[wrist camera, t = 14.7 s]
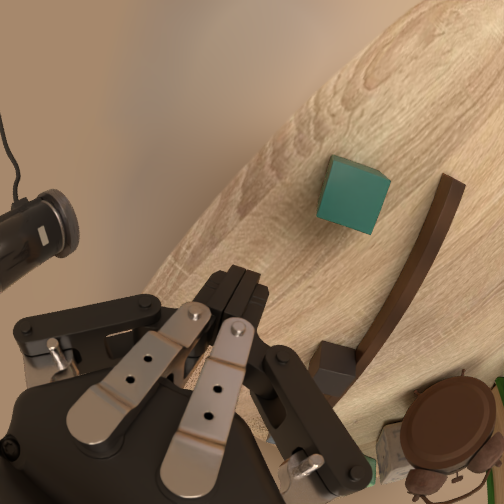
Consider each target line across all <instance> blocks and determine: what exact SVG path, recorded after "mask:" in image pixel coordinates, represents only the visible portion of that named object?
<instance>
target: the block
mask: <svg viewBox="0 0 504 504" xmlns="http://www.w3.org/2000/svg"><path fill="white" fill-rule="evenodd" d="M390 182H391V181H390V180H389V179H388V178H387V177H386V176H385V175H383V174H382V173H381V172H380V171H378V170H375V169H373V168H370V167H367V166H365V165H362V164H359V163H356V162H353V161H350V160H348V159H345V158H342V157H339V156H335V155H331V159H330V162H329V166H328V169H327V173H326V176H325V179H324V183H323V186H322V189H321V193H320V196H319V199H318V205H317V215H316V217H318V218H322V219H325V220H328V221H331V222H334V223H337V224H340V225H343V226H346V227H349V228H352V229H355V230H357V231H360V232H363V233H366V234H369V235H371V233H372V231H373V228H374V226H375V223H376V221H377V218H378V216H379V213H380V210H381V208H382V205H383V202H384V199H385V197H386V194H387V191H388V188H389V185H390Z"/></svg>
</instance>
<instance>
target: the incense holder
mask: <svg viewBox="0 0 504 504" xmlns="http://www.w3.org/2000/svg"><path fill="white" fill-rule="evenodd" d="M401 424H402V422H399V423H394V424H389V425H386V426H384V427H383V430H382V432H381V434H380V437H379V440H378V442H377V444H376V453H377V459H378V466H379V475H380V483H381V484H387V483H390V482H394V481H398V480H401V479H404V478H406V477H407V475H408V472H409V470H410V469H415V468H414V467H412V466H411V465H410V464H409V462H408V461H407V459H406V458H405V456H404V453H403V450H402V447H401V444H400V429H401Z"/></svg>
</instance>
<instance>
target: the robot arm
mask: <svg viewBox="0 0 504 504" xmlns="http://www.w3.org/2000/svg"><path fill="white" fill-rule="evenodd" d="M0 133H1V137H2V141H3V145H4V148H5V150H6V153H7V155H8V157H9V158H10V160H11V162H12V163H13V165H14V167H15V170H16V180H15V182H14V186H13V199H14V203H12V206H11V211H9V212H7V213H5V214H3V215H1V216H0V294H1V293H2V292H3V291H5V290H6V289H7V288H8V287H10V286H11V285H13V284H14V283H15V282H17V281H18V280H19V279H21V278H22V277H24V276H25V275H26V274H28V273H29V272H30V271H32V270H33V269H35V268H36V267H38V266H39V265H41V264H42V263H43V262H45V261H46V260H48V259H49V258H51V257H53V256H54V255H56V254H58V253H60V252H61V251H63V249H64V248H65V245H66V231H65V227H64V223H63V220H62V218H61V216H60V214H59V212H58V210H57V209H56V207H55V206H54V205H53V204H52V203H51V202H50V201H48V200H44V199H43V198H42V197H39V198H36V199H34V200H32V201H30V202H29V201H28V199H27V198H26V197H25V198H22V199H20V200H18V196H17V195H18V194H17V187H18V183H19V181H20V177H21V175H20V169H19V166H18V163H17V161H16V160H15V158H14V156H13V155H12V153H11V151H10V149H9V147H8V144H7V140H6V137H5V132H4V128H3V124H2V119H1V115H0ZM260 276H261V274H259V273H257V272H254V271H251V270H248V269H247V270H246V269H245V268H242V267H239V266H236V265H232V266H231V268H230V269H229V271H228V272H227V273H226V272H224V271H221V270H219V271H217V272H215V273H213V274H212V275H211V276H210V278H209V279H208V281H207V282H206V283H205V285H204V286H203V287H202V289H201V290H200V291H199V293H198V294H197V295H196V297H195V298H194V300H193V301H192V302H187V303H184V304H183V305H182V306H181V307H180V308H167V307H161V302H160V300H159V299H158V298H157V297H155V296H153V295H150V294H139V295H135V296H130V297H125V298H121V299H116V300H111V301H106V302H102V303H97V304H92V305H87V306H83V307H78V308H72V309H67V310H62V311H57V312H52V313H47V314H42V315H37V316H31V317H26V318H23V319H21V320H19V321H18V322H17V323H16V325H15V326H14V329H13V335H14V338H15V340H16V341H17V343H18V345H19V348H20V351H21V353H22V354H23V359H24V368H25V376H26V384H27V390H25V391H24V392H22V393H21V394H20V396H19V397H18V398H17V400H16V402H15V405H14V409H13V415H12V420H11V423H10V427H9V429H8V432H7V434H6V435H5V437H4V438H3V439H1V440H0V504H326V503H328V502H330V501H332V500H335V499H338V498H341V497H344V496H347V495H350V494H352V493H355V492H358V491H360V490H362V489H364V488H366V487H367V486H368V485H369V484H370V482H371V480H372V477H373V470H372V467H371V465H370V464H369V462H368V461H367V459H366V458H365V456H364V455H363V453H362V452H361V450H360V449H359V447H358V446H357V444H356V443H355V442H354V440H353V439H352V437H351V436H350V434H349V433H348V431H347V430H346V428H345V427H344V425H343V424H342V422H341V421H340V419H339V418H338V416H337V415H336V413H335V412H334V410H333V409H332V407H331V406H330V404H329V403H328V401H327V400H326V398H325V397H324V395H323V393H322V392H321V390H320V389H319V387H318V386H317V384H316V383H315V381H314V380H313V378H312V377H311V375H310V374H309V372H308V370H307V369H306V367H305V366H304V364H303V363H302V361H301V360H300V358H299V357H298V355H297V354H296V352H295V351H294V350H292V349H291V348H289V347H287V346H283V345H275V346H272V347H270V346H269V345H267V344H266V343H264V342H263V341H262V340H261V339H260V338H259V336H258V334H257V327H258V324H259V322H260V319H261V316H262V313H263V311H264V308H265V305H266V302H267V299H268V296H269V291H268V287H267V286H264V285H261V284H258V283H259V279H260ZM130 329H132V331H130V332H126V333H122V334H118V335H114V336H110V337H106V336H107V335H109V334H113V333H117V332H122V331H126V330H130ZM209 345H211V346H213V348H212V351H211V353H210V355H209V357H207V358H206V360H205V363H204V365H203V368H202V370H201V373H200V375H199V378H198V380H197V383H196V385H195V387H194V390H193V391H192V390H187V389H183V388H184V386H185V384H186V383H187V381H188V380H189V378H190V377H191V375H192V374H193V372H194V371H195V369H196V368H197V366H198V365H199V363H200V362H201V360H202V359H203V357H204V353H205V351H206V350H207V348H208V346H209ZM89 372H90V373H89ZM85 373H86V374H85ZM81 374H82V375H81ZM78 375H79V376H78ZM242 384H243V385H244V386H246V387H247V388H248V389H250V395H251V397H252V399H253V401H254V403H255V405H256V407H257V409H258V411H259V413H260V415H261V417H262V419H263V421H264V423H265V425H266V427H267V429H268V431H269V433H270V435H271V436H272V438H273V440H274V442H275V444H276V446H277V448H278V450H279V451H280V453H281V455H282V457H283V459H284V462H283V463H282V464H281V465H280V467H279V469H278V477H279V480H280V484H281V485H280V490H279V489H278V487H277V485H276V483H275V481H274V479H273V477H272V475H271V473H270V471H269V469H268V466H267V464H266V462H265V460H264V458H263V456H262V454H261V451H260V449H259V447H258V445H257V443H256V441H255V438H254V436H253V434H252V432H251V429H250V428H249V426H248V425H247V423H246V422H245V421H244V420H243V419H242V418H241V417H240V416H239V415H238V414H237V413H236V412H235V409H236V406H237V402H238V398H239V395H240V391H241V387H242Z"/></svg>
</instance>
